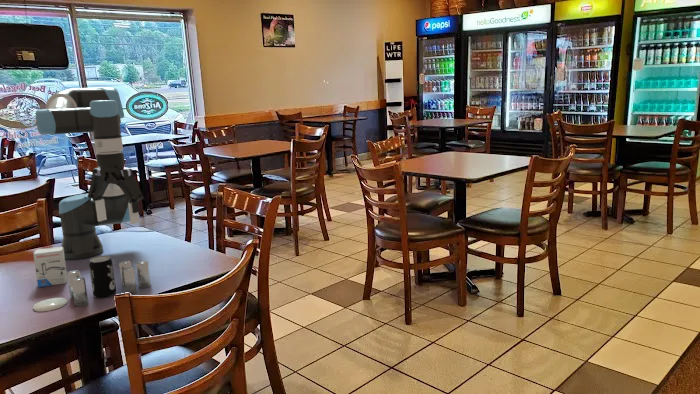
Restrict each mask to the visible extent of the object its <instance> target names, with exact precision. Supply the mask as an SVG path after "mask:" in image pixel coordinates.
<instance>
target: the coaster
mask: <svg viewBox="0 0 700 394" xmlns="http://www.w3.org/2000/svg"><path fill="white" fill-rule="evenodd" d="M67 303H68V299H67V298H64V297H51V298H48V299H44V300H41V301H39V302H37V303H35V304H34V305H33V306H32V309H33V311H35V312H39V313H42V312H49V311H54V310H57V309H60V308H62V307H65V306H66V305H67Z"/></svg>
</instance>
